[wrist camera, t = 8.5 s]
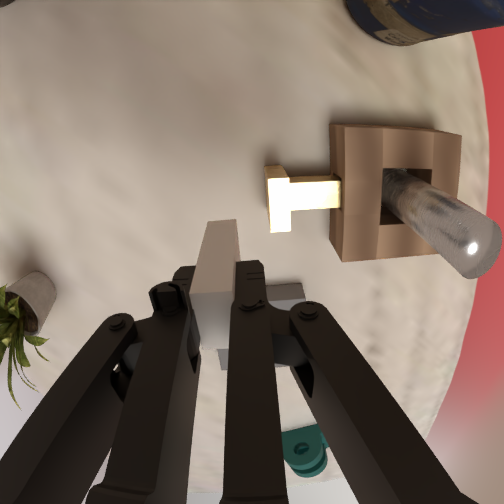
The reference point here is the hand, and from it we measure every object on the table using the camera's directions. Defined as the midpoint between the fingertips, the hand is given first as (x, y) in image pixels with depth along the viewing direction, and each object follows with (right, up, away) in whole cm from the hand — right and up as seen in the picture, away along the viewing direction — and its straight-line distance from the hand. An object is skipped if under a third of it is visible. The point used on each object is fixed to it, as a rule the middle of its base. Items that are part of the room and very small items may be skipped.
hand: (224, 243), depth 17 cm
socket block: (+15, +7, +13) cm, 21 cm away
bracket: (+16, -32, +32) cm, 48 cm away
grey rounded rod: (+15, +7, +13) cm, 21 cm away
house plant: (-26, -6, +19) cm, 32 cm away
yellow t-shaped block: (+8, +6, +12) cm, 16 cm away
